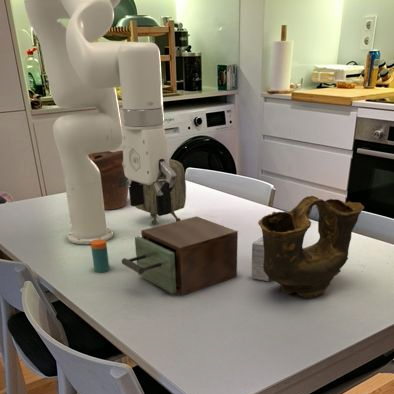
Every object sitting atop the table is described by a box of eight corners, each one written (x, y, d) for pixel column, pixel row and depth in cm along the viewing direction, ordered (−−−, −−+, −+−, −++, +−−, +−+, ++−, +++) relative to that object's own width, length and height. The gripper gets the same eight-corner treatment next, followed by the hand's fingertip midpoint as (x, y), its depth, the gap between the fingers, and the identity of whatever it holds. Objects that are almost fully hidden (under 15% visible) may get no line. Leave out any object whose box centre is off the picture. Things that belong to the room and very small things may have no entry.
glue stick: (91, 269, 123) (87, 241, 120) (104, 265, 125) (101, 238, 122) (98, 273, 121) (95, 245, 117) (112, 269, 123) (108, 242, 119)
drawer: (149, 301, 105) (146, 260, 101) (116, 281, 115) (112, 243, 110) (224, 275, 116) (224, 238, 111) (188, 259, 125) (187, 223, 120)
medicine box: (268, 282, 114) (270, 245, 110) (250, 278, 117) (251, 242, 112) (282, 270, 120) (285, 234, 116) (265, 267, 122) (267, 231, 118)
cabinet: (181, 295, 110) (180, 247, 104) (144, 275, 120) (141, 230, 114) (236, 276, 118) (237, 231, 112) (197, 258, 128) (196, 216, 122)
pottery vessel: (329, 267, 121) (339, 182, 110) (364, 283, 113) (379, 192, 103) (244, 293, 110) (247, 201, 99) (277, 312, 102) (284, 214, 91)
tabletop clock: (187, 223, 152) (184, 133, 139) (166, 231, 146) (161, 138, 133) (152, 214, 160) (146, 129, 147) (131, 222, 154) (123, 133, 141)
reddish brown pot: (87, 197, 180) (80, 143, 171) (142, 198, 177) (138, 143, 168) (69, 211, 165) (60, 153, 156) (129, 213, 162) (124, 153, 153)
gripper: (103, 117, 100) (113, 205, 108) (153, 125, 88) (160, 222, 97) (135, 113, 104) (142, 198, 112) (187, 120, 92) (191, 214, 101)
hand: (150, 209), depth 105 cm, fingers open, 9 cm apart
